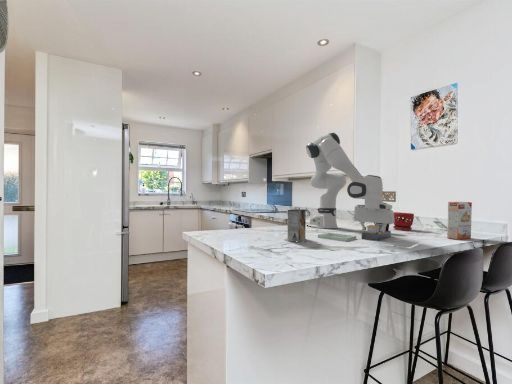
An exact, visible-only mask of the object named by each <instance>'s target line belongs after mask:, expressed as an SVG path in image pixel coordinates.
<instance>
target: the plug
mask: <svg viewBox="0 0 512 384" xmlns="http://www.w3.org/2000/svg"><path fill="white" fill-rule="evenodd" d="M366 231H367V233H374V234H377V233H379V226H376V225H375V224H373V225H372V224H370V225H367V226H366Z"/></svg>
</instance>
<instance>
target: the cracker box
mask: <svg viewBox="0 0 512 384" xmlns="http://www.w3.org/2000/svg"><path fill="white" fill-rule="evenodd" d="M472 207H473V203H472V202H471V201H448V203H447V232H446V233H447V237H446V238H447V239H449V240H456V241H457V240H467V239H469V240H470V239H471V238H472V214H473V213H472V212H473V211H472V210H473V209H472Z"/></svg>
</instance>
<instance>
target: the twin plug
mask: <svg viewBox="0 0 512 384" xmlns="http://www.w3.org/2000/svg"><path fill="white" fill-rule="evenodd" d="M374 225H376V226H379V232H380V229H381V228H383V224H376V223H375V224H374ZM385 231H386V227H385V229H384V232H385Z"/></svg>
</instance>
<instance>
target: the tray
mask: <svg viewBox="0 0 512 384" xmlns="http://www.w3.org/2000/svg"><path fill="white" fill-rule="evenodd" d="M317 238H318V239H324V240H325V239H326V240H333V241H340V242H349V241H354V240H357V235H353V234H352V235H351V234H343V233H335V232H326V233H319V234H317Z"/></svg>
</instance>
